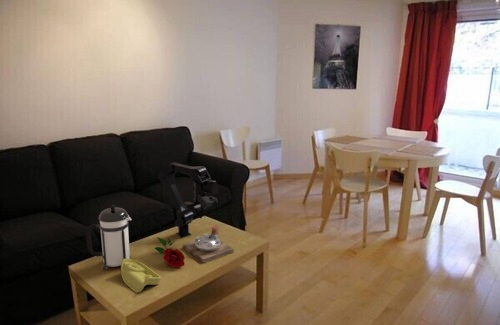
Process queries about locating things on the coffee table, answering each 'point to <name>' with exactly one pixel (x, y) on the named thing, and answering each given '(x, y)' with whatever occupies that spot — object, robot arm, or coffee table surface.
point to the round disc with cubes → (208, 241)
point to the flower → (171, 254)
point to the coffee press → (112, 236)
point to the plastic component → (138, 275)
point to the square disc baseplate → (208, 255)
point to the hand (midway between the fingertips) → (200, 218)
